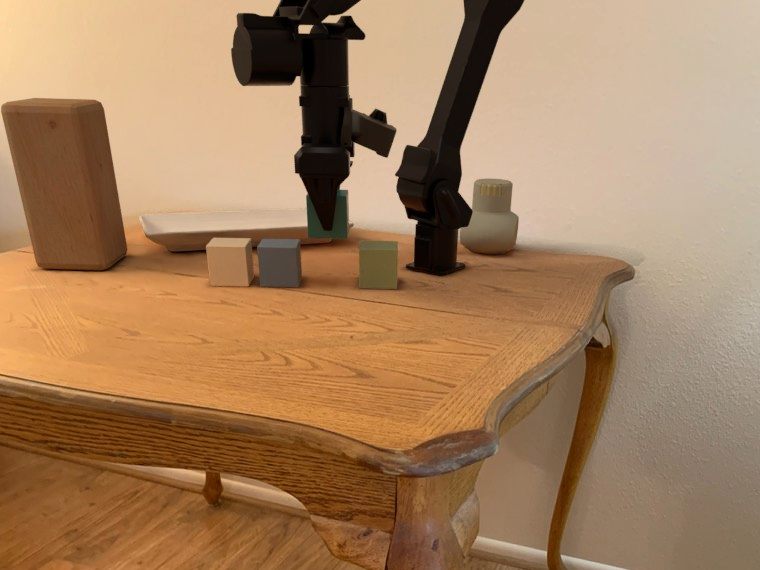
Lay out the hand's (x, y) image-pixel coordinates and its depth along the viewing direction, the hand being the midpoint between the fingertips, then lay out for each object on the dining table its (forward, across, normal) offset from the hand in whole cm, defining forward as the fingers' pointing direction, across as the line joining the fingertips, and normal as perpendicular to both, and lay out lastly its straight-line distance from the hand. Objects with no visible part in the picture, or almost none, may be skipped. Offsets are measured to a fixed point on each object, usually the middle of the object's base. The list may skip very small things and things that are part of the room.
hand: (329, 226), depth 99 cm
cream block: (+7, 0, +13) cm, 15 cm away
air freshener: (+7, +21, -23) cm, 32 cm away
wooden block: (+7, +9, +36) cm, 37 cm away
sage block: (+7, 0, -6) cm, 10 cm away
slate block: (+7, 0, +7) cm, 10 cm away
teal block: (+1, 0, 0) cm, 1 cm away
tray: (+7, +24, +15) cm, 30 cm away
